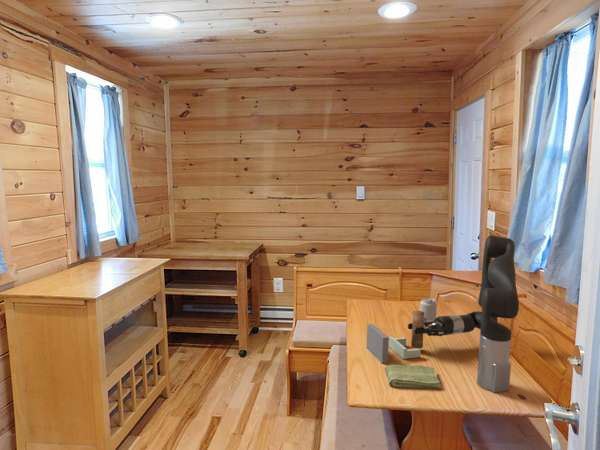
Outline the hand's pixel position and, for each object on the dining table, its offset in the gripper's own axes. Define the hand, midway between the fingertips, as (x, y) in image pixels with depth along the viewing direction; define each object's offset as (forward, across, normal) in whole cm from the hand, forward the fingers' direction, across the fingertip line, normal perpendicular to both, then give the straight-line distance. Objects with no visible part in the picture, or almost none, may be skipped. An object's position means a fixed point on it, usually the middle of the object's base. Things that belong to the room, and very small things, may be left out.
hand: (411, 328), depth 164 cm
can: (-23, -25, +10) cm, 35 cm away
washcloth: (+11, +20, +10) cm, 25 cm away
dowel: (-3, 0, +8) cm, 8 cm away
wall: (+15, 0, +9) cm, 17 cm away
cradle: (+3, 0, +9) cm, 10 cm away
